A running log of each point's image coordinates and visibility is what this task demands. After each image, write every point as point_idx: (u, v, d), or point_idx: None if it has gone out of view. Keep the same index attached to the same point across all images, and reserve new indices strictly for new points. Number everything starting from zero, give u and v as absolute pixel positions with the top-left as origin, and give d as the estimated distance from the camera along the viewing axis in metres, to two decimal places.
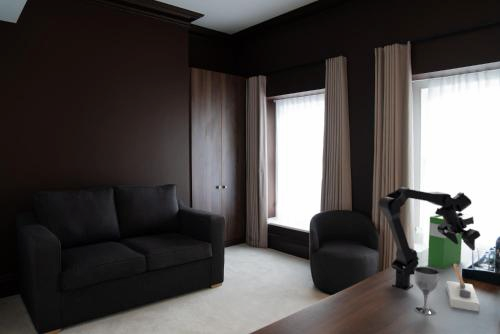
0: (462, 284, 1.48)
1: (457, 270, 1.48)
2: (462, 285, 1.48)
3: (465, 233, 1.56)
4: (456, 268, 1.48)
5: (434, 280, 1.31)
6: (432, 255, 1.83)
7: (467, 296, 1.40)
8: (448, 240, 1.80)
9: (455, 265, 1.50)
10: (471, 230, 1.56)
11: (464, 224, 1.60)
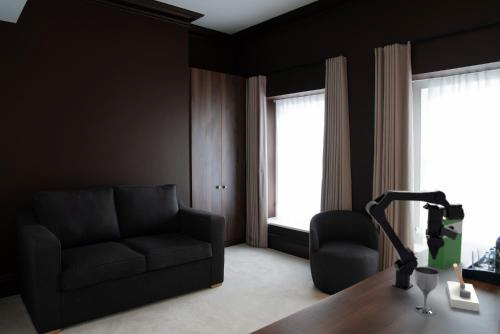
0: (462, 284, 1.48)
1: (457, 270, 1.48)
2: (462, 285, 1.48)
3: (432, 236, 1.50)
4: (456, 268, 1.48)
5: (434, 280, 1.31)
6: None
7: (467, 296, 1.40)
8: (448, 240, 1.80)
9: (455, 265, 1.50)
10: (439, 237, 1.48)
11: (442, 232, 1.52)
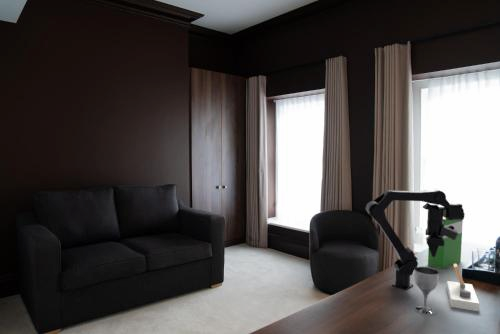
0: (462, 284, 1.48)
1: (457, 270, 1.48)
2: (462, 285, 1.48)
3: (432, 236, 1.50)
4: (456, 268, 1.48)
5: (434, 280, 1.31)
6: None
7: (467, 296, 1.40)
8: (448, 240, 1.80)
9: (455, 265, 1.50)
10: (439, 237, 1.48)
11: (441, 232, 1.52)
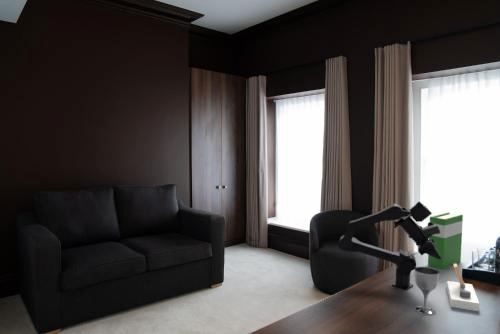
0: (462, 284, 1.48)
1: (457, 270, 1.48)
2: (462, 285, 1.48)
3: (420, 245, 1.49)
4: (456, 268, 1.48)
5: (434, 280, 1.31)
6: None
7: (467, 296, 1.40)
8: (448, 240, 1.80)
9: (455, 265, 1.50)
10: (425, 241, 1.47)
11: (425, 235, 1.51)
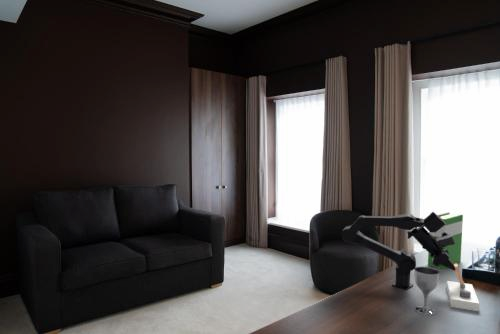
0: (462, 284, 1.48)
1: (457, 270, 1.48)
2: (462, 285, 1.48)
3: (434, 256, 1.47)
4: (456, 268, 1.48)
5: (434, 280, 1.31)
6: None
7: (467, 296, 1.40)
8: None
9: (456, 265, 1.50)
10: (440, 253, 1.45)
11: (439, 246, 1.49)
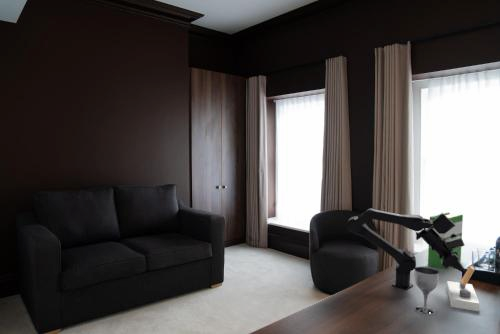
0: (464, 284, 1.47)
1: (471, 272, 1.46)
2: (463, 285, 1.47)
3: (443, 258, 1.46)
4: (472, 270, 1.46)
5: (434, 280, 1.31)
6: (432, 255, 1.83)
7: (467, 296, 1.40)
8: None
9: (472, 267, 1.47)
10: (449, 254, 1.44)
11: (448, 247, 1.48)
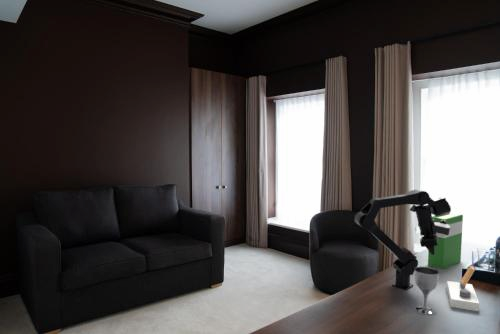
0: (464, 284, 1.47)
1: (471, 272, 1.46)
2: (463, 285, 1.47)
3: (424, 237, 1.52)
4: (472, 270, 1.46)
5: (434, 280, 1.31)
6: (432, 255, 1.83)
7: (467, 296, 1.40)
8: (448, 240, 1.80)
9: (472, 267, 1.47)
10: (431, 237, 1.50)
11: (433, 230, 1.53)
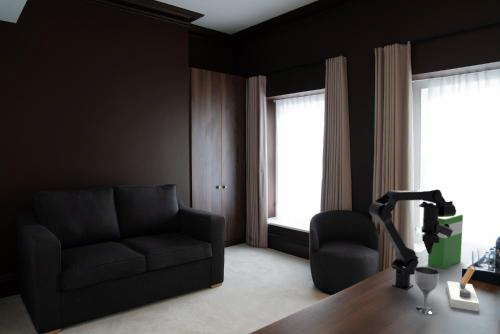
0: (464, 284, 1.47)
1: (471, 272, 1.46)
2: (463, 285, 1.47)
3: (427, 233, 1.54)
4: (472, 270, 1.46)
5: (434, 280, 1.31)
6: (432, 255, 1.83)
7: (467, 296, 1.40)
8: (448, 240, 1.80)
9: (472, 267, 1.47)
10: (434, 234, 1.53)
11: (437, 229, 1.56)
